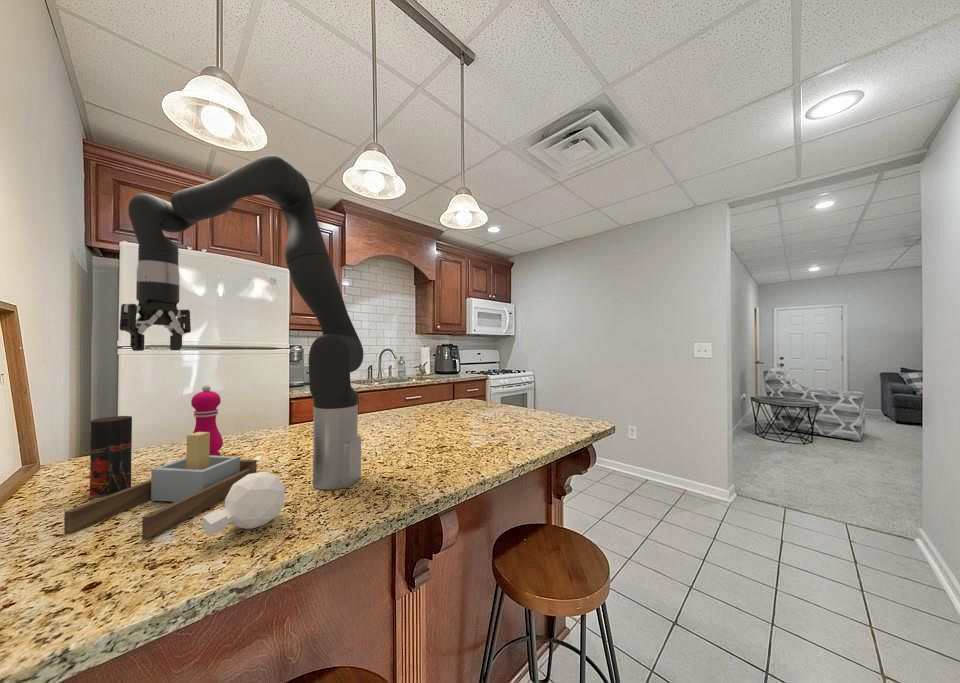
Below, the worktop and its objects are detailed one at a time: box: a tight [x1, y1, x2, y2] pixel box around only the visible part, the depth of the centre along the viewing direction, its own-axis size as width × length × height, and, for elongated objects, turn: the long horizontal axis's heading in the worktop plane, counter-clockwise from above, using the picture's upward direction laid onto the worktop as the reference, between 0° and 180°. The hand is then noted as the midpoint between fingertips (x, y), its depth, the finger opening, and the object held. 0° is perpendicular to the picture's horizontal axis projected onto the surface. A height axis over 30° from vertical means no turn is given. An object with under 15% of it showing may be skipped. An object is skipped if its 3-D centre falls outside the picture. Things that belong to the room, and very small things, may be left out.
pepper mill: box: [190, 385, 224, 456], centre depth 90 cm, size 7×7×20 cm
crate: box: [150, 432, 241, 503], centre depth 71 cm, size 11×9×12 cm
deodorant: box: [89, 415, 133, 498], centre depth 72 cm, size 6×6×15 cm
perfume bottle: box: [201, 471, 286, 537], centre depth 58 cm, size 9×9×12 cm
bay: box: [63, 458, 258, 540], centre depth 66 cm, size 15×23×5 cm
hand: (157, 350), depth 82 cm, fingers open, 8 cm apart
